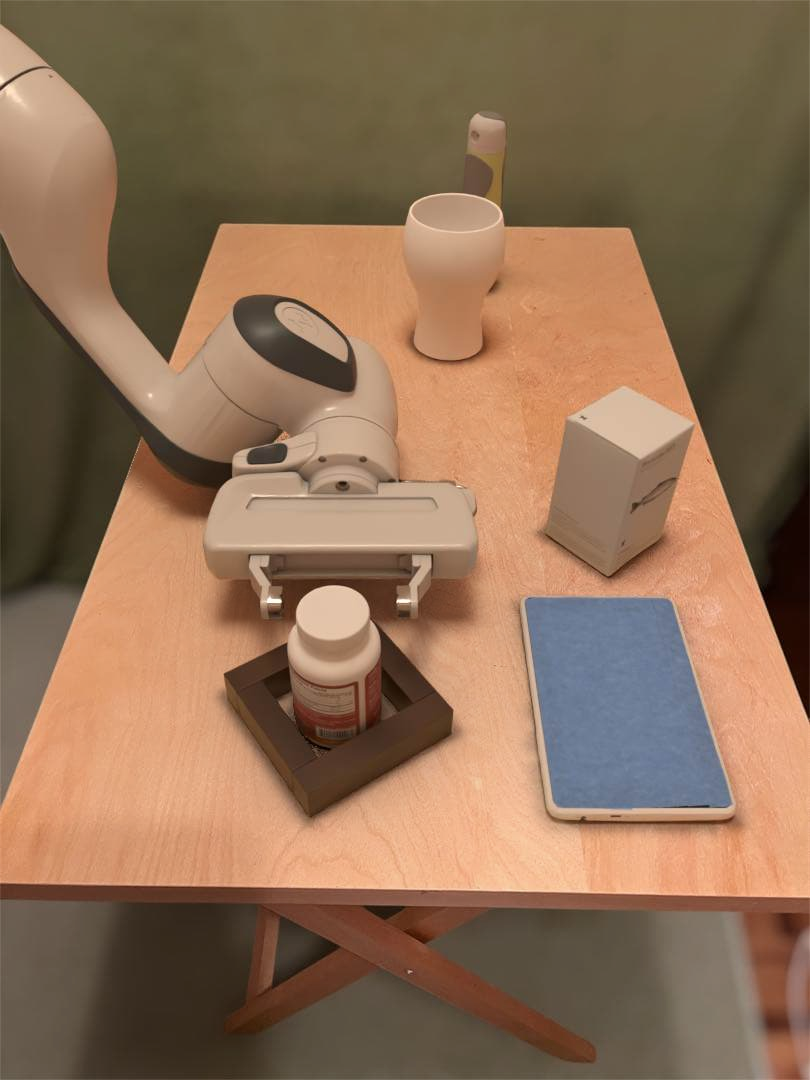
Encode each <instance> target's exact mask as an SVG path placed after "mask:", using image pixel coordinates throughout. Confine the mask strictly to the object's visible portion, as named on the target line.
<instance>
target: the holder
mask: <svg viewBox="0 0 810 1080" xmlns="http://www.w3.org/2000/svg"><path fill="white" fill-rule="evenodd" d="M370 620H371V621H372V622H373V623H374V625H375V626H376V628H377V630H378V632H379V636H380V641H381V692H382V693H383V694H384V695H385V696H386V697H387V699H388V700H389V701H390V702H391V703H392V705H393V706H394V707H395V708H396V709H397V711H398V712H396V713H394V714H392V715H391V716H389V717H387V718H386V719H384V720H381V721H380V722H378V724H376V725H375V726H373V727H371V728H369V729H367V730H366V731H364V732H362V733H360V734H359V735H357V736H355V737H353V738H351V739H350V740H348V741H346V742H344V743H343V744H341V745H339V746H337V747H335V748H331V749H330V750H328V751H327V752H325V753H323V754H321V755H320V756H318V755H317V754H316V752H315V751H314V750H313V748H312V747H311V745H310V744H309V743H308V741H307V740H306V738H305V736H304V735H303V733H302V732H301V731H300V729H299V728H298V727H297V726H296V725H295V723H294V722H293V721H292V719H291V718H290V716H289V715H288V714H287V712H286V710H284V708H283V707H282V706H281V704H280V703H279V702H278V700H277V699H276V698H278V697H281V696H282V695H284V694H287V693H288V692H290V691H292V687H291V678H290V670H289V661H288V649H287V645H288V641H286V642H285V643H283V644H281V645H279V646H276V647H274V648H272V649H271V650H269V651H267V652H265V653H263V654H261V655H258V656H256V657H254V658H253V659H250V660H248V661H246V662H245V663H242V664H241V665H238V666H236V667H234V668H233V669H230V670H228V671H226V672H224V673H223V679H224V685H225V690H226V695H227V699H228V700H229V702H230V703H231V705H232V706H233V708H234V709H235V711H236V712H237V714H238V715H239V716H240V718H241V719H242V720H243V723H245V725H246V727H247V728H248V729H249V732H251V734H252V735H253V737H254V738H255V740H256V741H257V743H258V745H259V746H260V747H261V749H262V750H263V751H264V753H265V755H266V756H267V757H268V759H269V761H270V762H271V763H272V764H273V766H274V768H275V769H276V770H277V772H278V774H279V776H281V778H282V780H284V783H285V784H286V785H287V786H288V788H289V789H290V791H291V792H292V794H293V795H294V797H295V798H296V800H297V801H298V803H299V804H300V806H301V808H302V809H303V810H304V811H305V814H307V816H308V817H309V818H311V817H312V816H314V815H316V814H318V813H319V812H321V811H323V810H325V809H326V808H328V807H329V806H331V805H333V804H335V803H336V802H337V801H340V800H341V799H343V798H344V797H346V796H348V795H350V794H351V793H353V792H355V791H356V790H358V789H360V788H361V787H363V786H365V785H367V784H369V783H370V782H371V781H373V780H375V779H377V778H379V777H380V776H382V775H383V774H385V773H387V772H389V771H390V770H392V769H393V768H395V767H397V766H398V765H400V764H402V763H404V762H405V761H408V760H409V759H411V758H412V757H414V756H416V755H417V754H419V753H421V752H423V751H425V750H426V749H427V748H429V747H430V746H432V745H434V744H435V743H438V742H440V741H441V740H443V739H445V738H446V737H447V736H449V735H451V734H452V731H453V719H454V708H453V707H452V706H451V705H450V703H448V702H447V700H446V699H445V698H444V697H443V696H442V695H441V694H440V693H439V691H437V690H436V688H435V687H434V686H433V685H432V684H431V683H430V681H429V680H428V679H427V678H426V677H425V676H424V674H422V673H421V671H420V670H419V669H418V668H417V667H416V665H414V664H413V662H412V661H411V659H409V658H408V657H407V656H406V654H404V652H403V651H402V650H401V649H400V647H398V646H397V645H396V643H395V642H394V641H393V640H392V639H391V638H390V637H389V635H388V634H387V633H386V632H385V631H384V630H383V629H382V627H381V626H380V625H379V624H378V623H377V622H376V621H375V620H374V618H373V617H372V616H371V615H370Z"/></svg>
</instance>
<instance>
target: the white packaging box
mask: <svg viewBox="0 0 810 1080" xmlns="http://www.w3.org/2000/svg"><path fill="white" fill-rule="evenodd" d="M695 426H696V423H695V422H694V421H692V420H690V419H688V418H686V417H685V416H682V414H679V413H677V412H675V411H673V410H672V409H670V408H668V407H667V406H664V405H662V404H661V403H659V402H657V401H655V400H653V399H651V398H649V397H647V396H645V395H643V394H641V393H640V392H638V391H636V390H635V389H633V388H631V387H629V386H627V385H625V384H624V385H621V386H619V387H617V388H616V389H613V390H612V391H611V392H608V393H606V394H605V395H603V396H602V397H600V398H598V399H597V400H594V401H592V402H591V403H590V404H588V405H585V406H584V407H583V408H581V409H579V410H577V411H576V412H574V413H572V414H571V415H568V416H567V417H566V420H565V425H564V430H563V435H562V441H561V446H560V447H561V448H560V452H559V457H558V462H557V467H556V472H555V478H554V483H553V488H552V489H553V490H552V494H551V499H550V505H549V511H548V516H547V521H546V527H545V531H544V533H545V534H546V535H547V536H549V537H550V538H551V539H553V540H554V541H555V542H556V543H558V544H559V545H561V546H563V547H564V548H565V549H566V550H568V551H569V552H571V553H573V554H574V555H575V556H576V557H578V558H579V559H581V560H583V561H584V562H585V563H587V564H588V565H589V566H591V567H593V569H595V570H597V572H600V573H601V574H603V575H604V576H606V577H610V576H612V575H613V574H614V573H615V572H617V571H618V570H619V569H620V568H621V567H623V566H624V565H626V564H627V563H628V562H630V560H632V559H633V558H634V557H636V556H637V555H639V554H641V553H642V552H643V551H645V550H646V549H647V548H649V547H650V546H652V545H653V544H655V543H657V542H658V541H659V540H661V537H662V534H663V530H664V527H665V524H666V521H667V517H668V515H669V513H670V508H671V505H672V501H673V498H674V495H675V492H676V489H677V487H678V486H677V485H678V483H679V479H680V475H681V471H682V469H683V465H684V461H685V459H686V455H687V453H688V450H689V449H688V448H689V446H690V443H691V439H692V436H693V432H694V430H695V429H694V428H695Z"/></svg>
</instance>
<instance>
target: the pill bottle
mask: <svg viewBox="0 0 810 1080" xmlns="http://www.w3.org/2000/svg"><path fill="white" fill-rule="evenodd" d="M370 612H371V611H370V607H369V604H368V602H367V600H366V598H365V597H364V596H363V594H361V593H360V592H358V591H357V590H355V589H353V588H351V587H348V586H345V585H337V584H336V585H335V584H334V585H325V586H320V587H318V588H315V589H312V590H311V591H309V592H307V594H305V595H304V596H303V597H302V598H301V599H300V601H299V603H298V604H297V606H296V610H295V624H294V626H293V627H292V629H291V631H290V633H289V635H288V639H287V642H288V645H287V649H288V661H289V670H290V678H291V687H292V690H291V695H292V705H293V713H294V718H295V723H296V725H297V728H298V730H299V732H300V733H301V734H302V735H303V737H304V738H306V739H307V740H309V741H311V742H312V743H313V744H316V745H317V746H321V747H324V748H328V749H334V748H335V747H337V746H339V745H341V744H343V743H344V742H346V741H348V740H350V739H351V738H353V737H355V736H357V735H359V734H360V733H362V732H364V731H366V730H367V729H369V728H371V727H373V726H375V725H376V724H378V723H380V722H379V721H380V720H381V714H382V690H381V641H380V636H379V632H378V630H377V628H376V626H375V625H374V623H373V622H372V621H371V620H370V616H371V614H370Z"/></svg>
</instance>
